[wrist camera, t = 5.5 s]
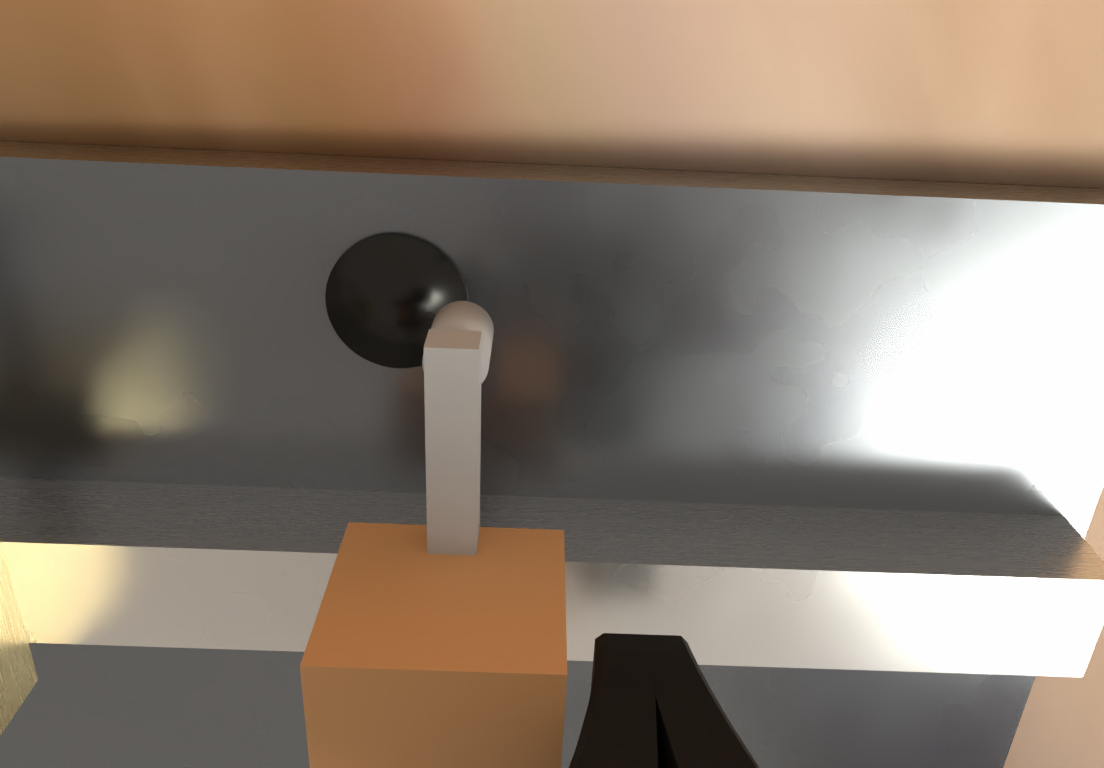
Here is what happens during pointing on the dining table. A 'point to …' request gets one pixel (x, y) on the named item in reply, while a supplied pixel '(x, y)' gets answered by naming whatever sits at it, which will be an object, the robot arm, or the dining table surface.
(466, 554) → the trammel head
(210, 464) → the grey slotted base plate
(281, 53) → the dining table surface
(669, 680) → the robot arm
